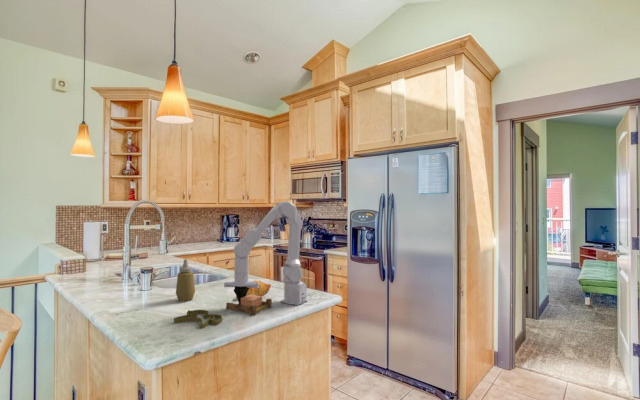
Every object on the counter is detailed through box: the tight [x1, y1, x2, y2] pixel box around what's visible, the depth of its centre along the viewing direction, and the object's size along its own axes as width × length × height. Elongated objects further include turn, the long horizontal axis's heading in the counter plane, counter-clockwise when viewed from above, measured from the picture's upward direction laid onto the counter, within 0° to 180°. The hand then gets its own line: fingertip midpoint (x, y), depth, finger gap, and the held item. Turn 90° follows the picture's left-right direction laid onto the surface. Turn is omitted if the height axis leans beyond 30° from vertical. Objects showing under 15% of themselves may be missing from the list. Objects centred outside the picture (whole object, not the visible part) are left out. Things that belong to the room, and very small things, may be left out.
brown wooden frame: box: [225, 298, 272, 316], centre depth 138 cm, size 15×11×4 cm
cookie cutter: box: [173, 309, 223, 329], centre depth 124 cm, size 18×12×2 cm, turn 65°
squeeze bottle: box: [175, 258, 196, 302], centre depth 150 cm, size 8×8×18 cm
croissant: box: [235, 280, 272, 299], centre depth 157 cm, size 21×10×8 cm, turn 146°
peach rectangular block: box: [241, 294, 263, 308], centre depth 137 cm, size 6×6×4 cm
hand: (241, 304), depth 139 cm, fingers closed
